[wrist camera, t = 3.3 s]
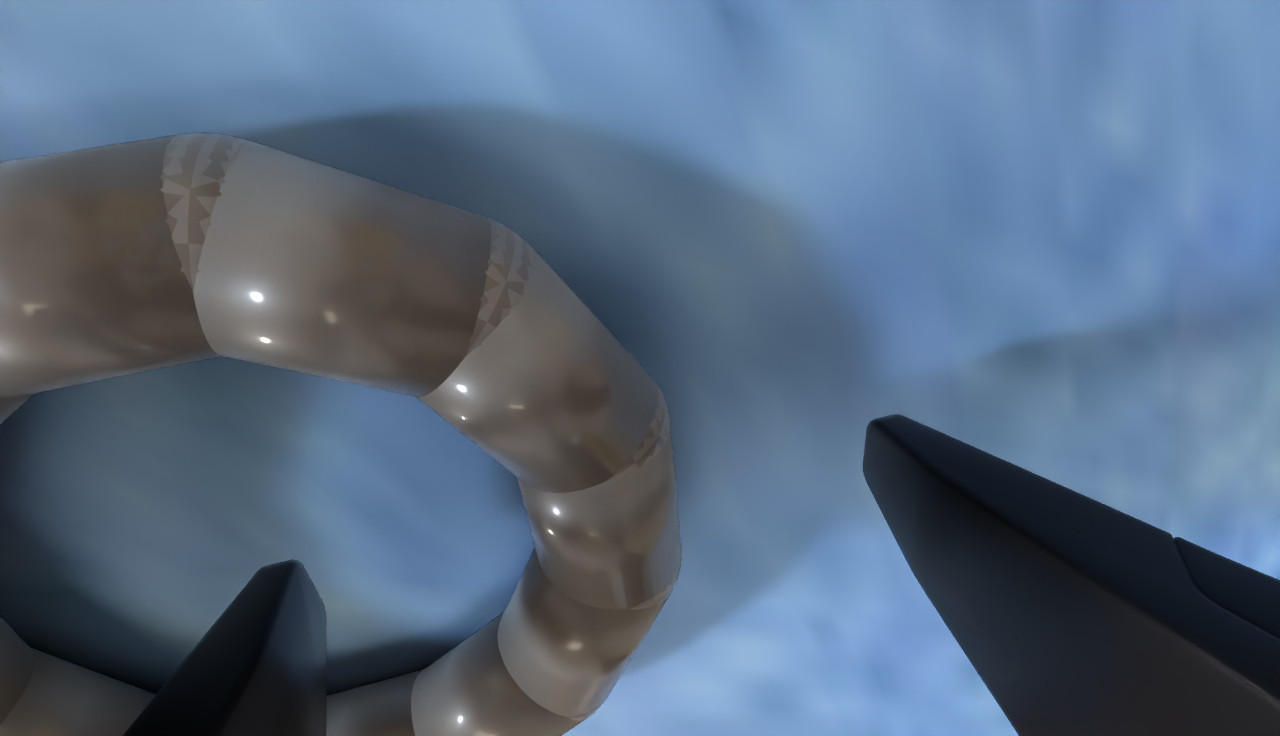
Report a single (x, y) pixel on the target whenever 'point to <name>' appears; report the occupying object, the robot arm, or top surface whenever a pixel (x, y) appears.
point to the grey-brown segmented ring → (365, 355)
